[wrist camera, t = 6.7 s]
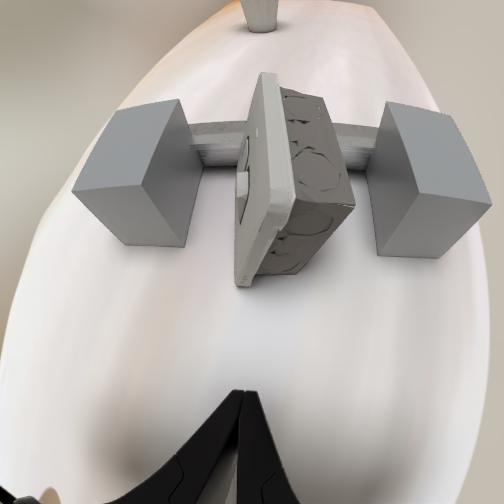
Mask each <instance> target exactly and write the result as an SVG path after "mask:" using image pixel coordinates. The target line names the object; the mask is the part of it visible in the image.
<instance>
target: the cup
mask: <svg viewBox="0 0 504 504" xmlns="http://www.w3.org/2000/svg"><path fill="white" fill-rule="evenodd" d="M240 2H241V5H242V8H243V11H244V14H245V18H246V21H247V24H248V27H249V31H250V32H253V33H267V32H271V31H274V30H275V29H276V21H277V9H278V0H240Z"/></svg>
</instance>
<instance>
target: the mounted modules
mask: <svg viewBox="0 0 504 504" xmlns="http://www.w3.org/2000/svg"><path fill="white" fill-rule="evenodd" d="M191 139H192V134H191V131H190V129H189V126H188V123H187V120H186V117H185V115H184V112H183V109H182V106H181V103H180V100H179V99H174V100H168V101H162V102H156V103H151V104H145V105H140V106H136V107H131V108H126V109H122V110H118V111H116V112H115V114H114V115H113V117H112V118H111V120H110V121H109V123H108V124H107V126H106V128H105V129H104V131H103V133H102V134H101V136H100V138H99V139H98V141H97V143H96V144H95V146H94V148H93V150H92V152H91V153H90V155H89V157H88V159H87V161H86V163H85V165H84V166H83V168H82V170H81V172H80V174H79V176H78V178H77V180H76V182H75V185H74V187H73V189H72V191H71V192H72V193H73V194H74V195H75V196H76V197H77V198H78V199H79V200H80V201H81V202H82V203H83V204H84V205H85V206H86V207H87V208H88V209H89V210H90V211H91V212H92V213H93V214H94V215H95V216H96V217H97V218H98V219H99V220H100V221H101V222H102V223H103V224H104V225H105V226H106V227H107V228H108V229H109V230H110V231H111V232H112V233H113V234H114V235H115V236H116V237H117V238H118V239H119V240H120V241H121V242H122V243H123V244H124V245H142V246H166V247H185V242H186V237H187V233H188V228H189V224H190V219H191V215H192V211H193V207H194V202H195V198H196V194H197V190H198V186H199V182H200V178H201V175H202V171H203V165H202V162H201V159H200V156H199V154H198V151H197V150H191V148H190V145H189V144H190V141H191ZM376 143H377V147H378V151H377V154H376V155H373V154H371V157H370V160H369V163H368V166H367V169H366V176H367V181H368V187H369V193H370V199H371V205H372V212H373V219H374V226H375V234H376V243H377V253H378V256H398V257H420V258H440V257H441V256H442V255H443V254H444V253H445V252H446V251H447V250H449V249H450V248H451V247H452V246H453V245H454V244H455V243H456V242H457V241H458V240H459V239H460V238H461V237H462V236H463V235H464V234H465V233H466V232H467V231H468V230H469V229H470V228H471V227H472V226H473V225H474V224H475V223H476V222H477V221H478V220H479V219H480V218H481V216H482V215H483V214H484V213H485V212H486V211H487V210H488V209H489V208H490V207H491V205H492V202H491V199H490V196H489V194H488V191H487V189H486V186H485V184H484V181H483V179H482V176H481V174H480V172H479V169H478V167H477V166H476V163H475V161H474V159H473V156H472V155H471V152H470V150H469V148H468V146H467V144H466V142H465V140H464V139H463V137H462V135H461V133H460V131H459V129H458V128H457V126H456V124H455V122H454V121H453V119H452V117H451V116H449V115H446V114H442V113H438V112H434V111H430V110H426V109H422V108H418V107H413V106H409V105H404V104H399V103H394V102H388V101H386V104H385V108H384V112H383V116H382V119H381V123H380V127H379V130H378V134H377V137H376Z"/></svg>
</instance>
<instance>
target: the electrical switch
mask: <svg viewBox="0 0 504 504" xmlns="http://www.w3.org/2000/svg"><path fill="white" fill-rule="evenodd" d="M318 107H319V108H320V109H319V108H318ZM318 118H319V119H318ZM297 154H299V155H297ZM320 155H321V156H320ZM339 173H340V174H341V175H340V178H339ZM333 203H335V204H333ZM338 204H341V205H338ZM343 205H348V206H355V205H356V203H355V199H354V195H353V191H352V188H351V184H350V180H349V177H348V173H347V169H346V166H345V163H344V159H343V156H342V153H341V149H340V146H339V143H338V140H337V137H336V134H335V131H334V128H333V125H332V122H331V119H330V116H329V113H328V111H327V108H326V105H325V103H324V100H323V98H321V97H317V96H311V95H306V94H302V93H299V92H297V91H294V90H290V89H285V88H282V87H279V82H278V76H277V74H274V73H265V72H261V74H260V75H259V78H258V81H257V84H256V88H255V91H254V95H253V98H252V102H251V106H250V110H249V115H248V119H247V123H246V128H245V132H244V136H243V141H242V145H241V150H240V154H239V159H238V165H237V171H236V197H235V259H234V276H235V284H236V286H246V287H249V286H251V284H252V281H253V277H254V276H255V274H262V275H271V274H297V272H298V271H299V270H300V269H301V268H302V267H303V266H304V265H305V264H306V263H307V262H308V260H309V259H310V258H311V257H312V256H313V255H314V254H315V253H316V252H317V250H318V249H319V248H320V247H321V246H322V245H323V244H324V243H325V241H326V240H327V239H328V238H329V237H330V236H331V235H332V234H333V232H334V231H335V230H336V229H337V228H338V227H339V226H340V224H341V223H342V222H343V221H344V220H345V219H346V217H347V216H348V215H349V214H350V213H351V212H352V210H353V209H354V208H353V207H348V206H343Z"/></svg>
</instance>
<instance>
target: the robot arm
mask: <svg viewBox="0 0 504 504" xmlns="http://www.w3.org/2000/svg"><path fill="white" fill-rule="evenodd" d="M236 463H237V504H300V502H299V501H298V499H297V497H296V495H295V493H294V491H293V490H292V488H291V485H290V483H289V481H288V478H287V476H286V473H285V470H284V468H283V465H282V462H281V460H280V457H279V454H278V451H277V448H276V446H275V443H274V440H273V437H272V434H271V431H270V428H269V425H268V422H267V420H266V417H265V414H264V411H263V408H262V405H261V402H260V399H259V395H258V393H257V391H251V390H246V391H244V390H237V389H234V390H232V391H231V392H230V393H229V394H228V396H227V397H226V398H225V399H224V400H223V401H222V403H221V404H220V405H219V406H218V407H217V408H216V410H215V411H214V412H213V413H212V414H211V415H210V416H209V418H208V419H207V420H206V421H205V422H204V423H203V424H202V425H201V427H200V428H199V429H198V430H197V431H196V432H195V433H194V434H193V435H192V436H191V437H190V439H189V440H188V441H187V442H186V443H185V444H184V445H183V446H182V447H181V448H180V449H179V450H178V451H177V452H176V454H174V455H173V456H172V457H171V458H170V459H169V461H168V462H166V463H165V464H164V465H163V466H162V467H161V468H160V469H159V470H158V471H157V472H155V473H154V474H153V475H152V476H150V477H149V478H148V479H146V480H145V481H144V482H142V483H141V484H139V485H138V486H137V487H135V488H134V489H132V490H131V491H129V492H128V493H126V494H125V495H123V496H122V497H120V498H118V499H116V500H114V501H112V502H108V503H105V504H225V501H226V498H227V494H228V491H229V488H230V484H231V481H232V477H233V474H234V470H235V467H236ZM0 504H43V503H41V502H40V501H39V500H37V499H36V498H34V497H32V496H27V497H22V498H19V499H17V498H16V497H14V496H13V495H12V494H11V493H10V492H8V491H7V490H6V489H5V488H3V487H2V486H1V485H0Z"/></svg>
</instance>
